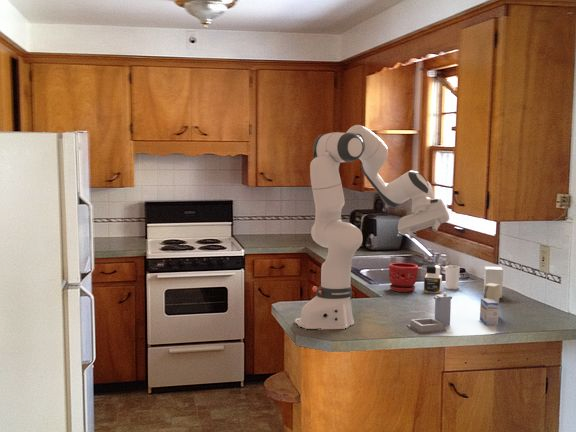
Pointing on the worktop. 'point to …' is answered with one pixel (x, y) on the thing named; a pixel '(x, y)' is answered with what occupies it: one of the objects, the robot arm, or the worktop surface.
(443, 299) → the block
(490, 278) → the supplement box
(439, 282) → the medicine bottle
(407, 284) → the plant pot
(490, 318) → the medicine box
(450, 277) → the drinking glass
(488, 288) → the box
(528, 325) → the worktop surface
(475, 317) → the worktop surface
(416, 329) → the pocket plate
